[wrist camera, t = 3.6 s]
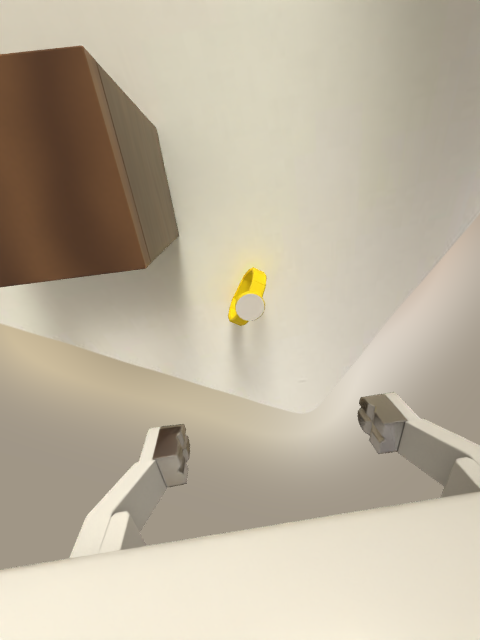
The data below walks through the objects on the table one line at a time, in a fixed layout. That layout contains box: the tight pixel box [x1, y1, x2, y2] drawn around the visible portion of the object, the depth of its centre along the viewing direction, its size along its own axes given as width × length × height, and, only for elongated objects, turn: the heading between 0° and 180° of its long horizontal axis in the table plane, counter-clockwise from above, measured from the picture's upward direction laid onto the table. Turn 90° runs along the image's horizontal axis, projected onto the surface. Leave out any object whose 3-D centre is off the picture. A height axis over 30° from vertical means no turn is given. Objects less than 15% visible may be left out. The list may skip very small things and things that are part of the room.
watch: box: [228, 268, 266, 326], centre depth 26 cm, size 6×3×6 cm, turn 154°
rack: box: [0, 46, 179, 287], centre depth 17 cm, size 14×9×13 cm, turn 96°
